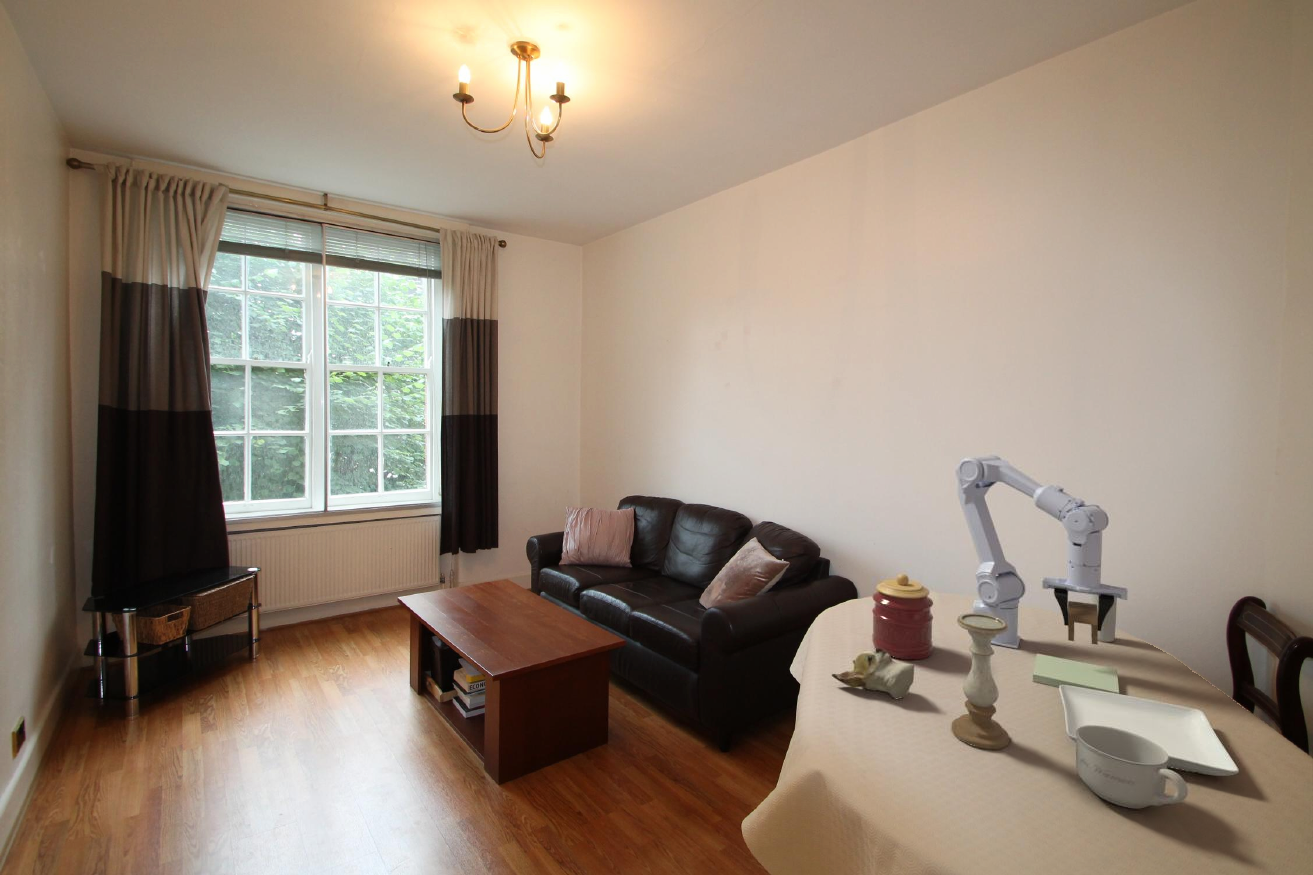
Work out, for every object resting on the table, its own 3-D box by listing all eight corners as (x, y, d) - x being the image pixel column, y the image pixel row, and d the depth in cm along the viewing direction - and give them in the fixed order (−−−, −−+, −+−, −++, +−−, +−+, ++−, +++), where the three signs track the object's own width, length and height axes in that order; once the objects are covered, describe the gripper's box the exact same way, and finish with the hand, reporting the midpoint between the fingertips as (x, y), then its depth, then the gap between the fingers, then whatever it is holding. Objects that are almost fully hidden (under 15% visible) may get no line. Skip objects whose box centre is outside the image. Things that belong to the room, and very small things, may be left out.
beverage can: (1106, 635, 147) (1108, 586, 146) (1120, 643, 142) (1121, 592, 141) (1085, 634, 147) (1087, 586, 147) (1098, 642, 143) (1099, 592, 142)
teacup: (1057, 774, 94) (1058, 724, 93) (1122, 769, 95) (1124, 719, 94) (1135, 839, 80) (1137, 780, 80) (1210, 832, 81) (1213, 775, 81)
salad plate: (1057, 698, 118) (1058, 680, 118) (1201, 726, 107) (1202, 707, 107) (1067, 754, 100) (1067, 734, 99) (1241, 795, 89) (1242, 772, 89)
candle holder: (987, 755, 99) (990, 634, 98) (940, 729, 107) (942, 617, 105) (1020, 741, 103) (1023, 624, 102) (972, 717, 111) (974, 608, 109)
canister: (936, 644, 143) (937, 571, 142) (927, 665, 132) (928, 586, 131) (878, 633, 150) (879, 563, 149) (865, 653, 139) (866, 577, 138)
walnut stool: (1068, 640, 128) (1067, 607, 127) (1068, 632, 132) (1068, 600, 131) (1097, 644, 125) (1097, 611, 124) (1097, 636, 129) (1096, 604, 129)
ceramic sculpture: (902, 665, 113) (828, 647, 123) (904, 711, 113) (830, 690, 123) (924, 648, 120) (853, 633, 131) (926, 691, 120) (855, 673, 131)
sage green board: (1032, 681, 124) (1032, 674, 124) (1036, 660, 134) (1037, 653, 134) (1118, 700, 116) (1119, 692, 116) (1116, 676, 126) (1116, 669, 126)
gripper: (1042, 562, 128) (1040, 625, 129) (1129, 573, 120) (1127, 640, 121) (1043, 555, 134) (1042, 615, 135) (1127, 564, 126) (1124, 628, 126)
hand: (1082, 626), depth 128 cm, fingers closed on walnut stool, 5 cm apart
